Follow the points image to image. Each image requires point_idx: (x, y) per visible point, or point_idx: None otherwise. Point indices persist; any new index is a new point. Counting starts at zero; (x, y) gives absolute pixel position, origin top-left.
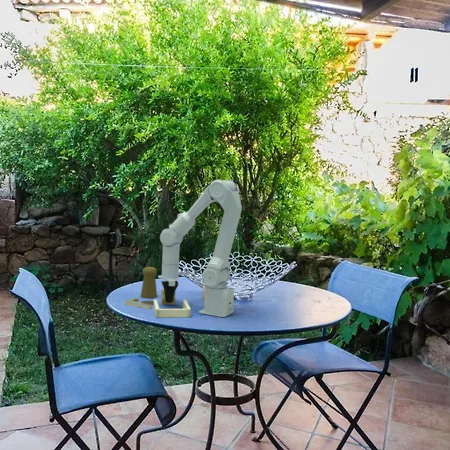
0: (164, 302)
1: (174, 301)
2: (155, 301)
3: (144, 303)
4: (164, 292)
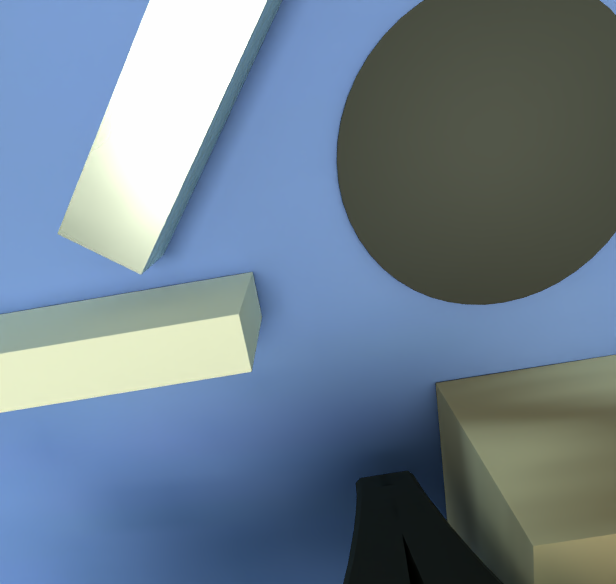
0: (445, 432)
1: None
2: (96, 365)
3: (161, 116)
4: (521, 567)
